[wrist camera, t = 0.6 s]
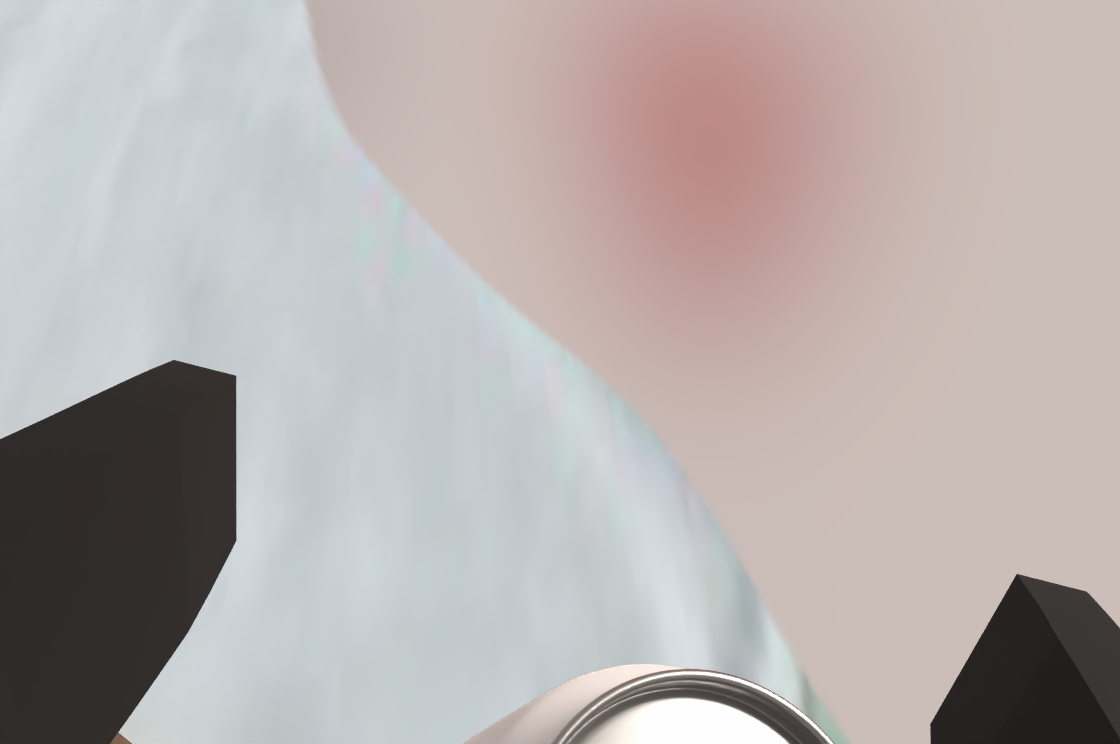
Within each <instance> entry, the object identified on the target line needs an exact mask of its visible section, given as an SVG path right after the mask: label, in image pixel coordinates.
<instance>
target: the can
mask: <svg viewBox="0 0 1120 744" xmlns="http://www.w3.org/2000/svg"><path fill="white" fill-rule="evenodd" d="M462 744H834V742H833V741H832V740H831V739H830V738H829V737H828V736H827V735H826V734H825V732H824V731H823V730H822V729H821V728H820V727H819V726H818V725H817V724H815V723H814V722H813V721H812V720H811V719H810V718H809V717H808V716H807V715H805V714H804V713H803V712H802V711H800V710H799V709H798V708H797V707H795V706H794V705H792V704H791V703H790V702H788V701H787V700H785V699H784V698H782V697H780V696H779V695H777V694H776V693H774V692H772V691H770V690H768V689H766V688H764V687H762V686H760V685H758V684H756V683H753V682H751V681H748V680H746V679H743V678H740V677H737V676H734V675H730V674H726V673H721V672H716V671H710V670H701V669H682V668H678V667H672V666H665V665H653V664H636V665H624V666H617V667H612V668H607V669H603V670H599V671H595V672H592V673H589V674H585V675H583V676H580V677H577V678H575V679H572V680H570V681H568V682H566V683H563V684H561V685H559V686H557V687H555V688H553V689H552V690H550V691H548V692H546V693H544V694H542V695H540V696H539V697H537V698H535V699H534V700H532V701H530V702H529V703H527V704H525V705H523V706H522V707H520V708H519V709H517V710H515V711H514V712H512V713H510V714H509V715H507V716H505V717H504V718H502V719H501V720H499V721H497V722H496V723H494V724H492V725H491V726H489V727H488V728H486V729H484V730H483V731H481V732H480V733H478V734H476V735H475V736H473V737H472V738H470V739H468V740H467V741H465V742H464V743H462Z"/></svg>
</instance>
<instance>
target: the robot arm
mask: <svg viewBox="0 0 1120 744" xmlns="http://www.w3.org/2000/svg"><path fill="white" fill-rule="evenodd" d="M235 542H236V376H235V375H231V374H227V373H223V372H219V371H215V370H211V369H207V368H203V367H199V366H195V365H191V364H187V363H183V362H180V361H176V360H173V361H170V362H168V363H165V364H163V365H161V366H158V367H156V368H153V369H151V370H149V371H146V372H144V373H142V374H139V375H137V376H135V377H133V378H131V379H129V380H126V381H124V382H122V383H120V384H118V385H116V386H113V387H111V388H109V389H107V390H105V391H103V392H101V393H98V394H96V395H94V396H92V397H90V398H88V399H86V400H84V401H81V402H79V403H77V404H75V405H73V406H71V407H69V408H67V409H65V410H62V411H60V412H58V413H56V414H54V415H52V416H50V417H48V418H45V419H43V420H41V421H39V422H37V423H35V424H32V425H30V426H28V427H26V428H24V429H22V430H19V431H17V432H15V433H13V434H11V435H9V436H6V437H4V438H2V439H0V744H110V743H111V742H112V740H113V739H114V737H115V736H116V735H117V733H118V732H119V730H120V729H121V728H122V726H123V725H124V723H125V722H126V721H127V719H128V718H129V716H130V715H131V714H132V712H133V711H134V709H135V708H136V706H137V705H138V704H139V702H140V701H141V699H142V698H143V696H144V695H145V694H146V692H147V691H148V689H149V688H150V686H151V685H152V684H153V682H154V681H155V679H156V678H157V676H158V675H159V674H160V672H161V671H162V669H163V668H164V666H165V665H166V664H167V662H168V661H169V659H170V658H171V656H172V655H173V653H174V652H175V650H176V649H177V648H178V646H179V645H180V643H181V642H182V640H183V639H184V637H185V636H186V634H187V633H188V631H189V629H190V628H191V626H192V624H193V622H194V620H195V618H196V617H197V615H198V613H199V611H200V609H201V607H202V606H203V604H204V602H205V600H206V598H207V596H208V595H209V593H210V591H211V589H212V587H213V585H214V583H215V581H216V579H217V577H218V575H219V573H220V572H221V570H222V568H223V566H224V564H225V562H226V560H227V558H228V556H229V554H230V552H231V550H232V548H233V546H234V544H235ZM930 726H931V744H1120V628H1119V627H1118V626H1117V625H1116V623H1115V622H1114V621H1113V620H1112V619H1111V618H1110V617H1109V615H1108V614H1107V613H1106V612H1105V611H1104V610H1103V609H1102V608H1101V606H1100V605H1098V603H1097V602H1095V600H1094V599H1093V598H1092V597H1091V596H1090V595H1089V594H1088V593H1087V592H1085V591H1082V590H1078V589H1074V588H1070V587H1066V586H1062V585H1058V584H1054V583H1050V582H1046V581H1042V580H1038V579H1034V578H1030V577H1026V576H1023V575H1019V574H1017V575H1016V576H1015V578H1014V580H1013V582H1012V583H1011V585H1010V587H1009V589H1008V590H1007V592H1006V594H1005V596H1004V597H1003V599H1002V601H1001V602H1000V604H999V606H998V608H997V610H996V611H995V613H994V615H993V616H992V618H991V620H990V622H989V623H988V625H987V627H986V629H985V630H984V632H983V634H982V635H981V637H980V639H979V641H978V642H977V644H976V646H975V648H974V650H973V651H972V653H971V655H970V656H969V658H968V660H967V662H966V663H965V665H964V667H963V669H962V670H961V672H960V674H959V676H958V677H957V679H956V681H955V682H954V684H953V686H952V688H951V689H950V691H949V693H948V695H947V696H946V698H945V700H944V702H943V703H942V705H941V707H940V708H939V710H938V712H937V714H936V715H935V717H934V719H933V721H932V722H931V724H930Z"/></svg>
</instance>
